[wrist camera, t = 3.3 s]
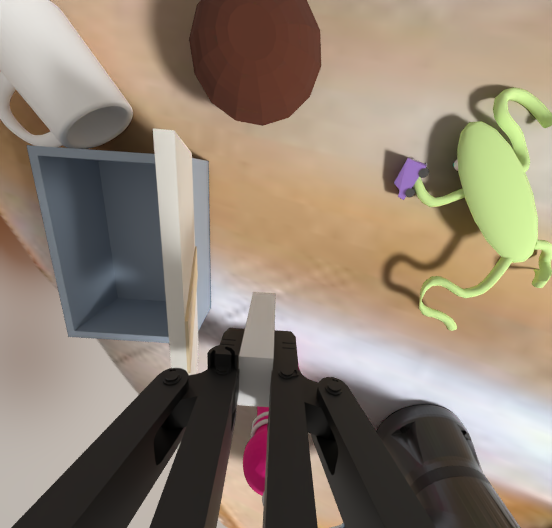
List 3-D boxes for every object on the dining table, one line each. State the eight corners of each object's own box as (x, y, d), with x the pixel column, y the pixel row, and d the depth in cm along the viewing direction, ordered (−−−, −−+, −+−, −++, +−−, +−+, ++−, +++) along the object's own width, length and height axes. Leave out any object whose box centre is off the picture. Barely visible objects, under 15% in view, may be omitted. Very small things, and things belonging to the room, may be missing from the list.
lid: (191, 347, 30) (200, 346, 30) (180, 485, 17) (195, 481, 17) (182, 152, 23) (193, 153, 24) (152, 128, 10) (178, 131, 10)
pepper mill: (287, 380, 43) (294, 545, 24) (246, 366, 42) (218, 525, 23) (305, 345, 40) (329, 496, 21) (262, 330, 40) (246, 472, 21)
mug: (83, 24, 28) (11, -31, 21) (146, 112, 31) (102, 92, 23) (10, 96, 30) (-79, 69, 23) (75, 172, 33) (13, 171, 25)
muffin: (190, 91, 30) (149, 52, 20) (242, -12, 27) (222, -115, 17) (276, 155, 32) (275, 146, 22) (333, 65, 29) (359, 12, 19)
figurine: (407, 321, 39) (427, 343, 34) (376, 132, 31) (395, 123, 26) (538, 288, 37) (581, 307, 32) (540, 78, 29) (598, 57, 24)
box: (211, 307, 39) (191, 344, 30) (115, 300, 38) (68, 336, 30) (208, 161, 32) (182, 156, 24) (93, 153, 32) (26, 145, 24)
